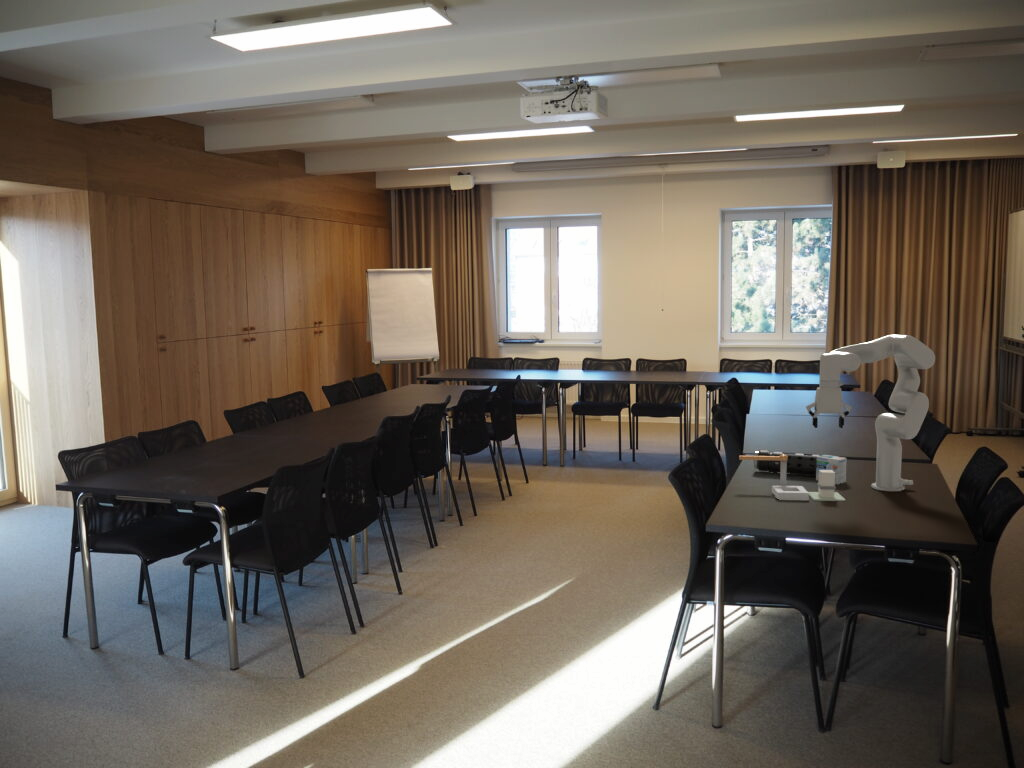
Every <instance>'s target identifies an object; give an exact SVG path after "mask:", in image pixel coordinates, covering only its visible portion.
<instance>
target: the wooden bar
mask: <svg viewBox="0 0 1024 768" xmlns="http://www.w3.org/2000/svg"><path fill="white" fill-rule="evenodd" d="M738 458H739V459H738V460H739V461H741V460H742V461H754V460H777V461H788V455H780V456H754V455H739V456H738Z"/></svg>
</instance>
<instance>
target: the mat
mask: <svg viewBox="0 0 1024 768" xmlns="http://www.w3.org/2000/svg"><path fill="white" fill-rule="evenodd" d="M807 492H808V493H809V498H811V499H812V500H813V501H816V502H818V501H820V502H821V501H822V502H828V501H830V502H846V498H844V496H842V495H841V494H840V493H839V492H837V491H834V497H821V496H820V495H819V494H818V491H807Z"/></svg>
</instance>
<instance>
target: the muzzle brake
mask: <svg viewBox="0 0 1024 768" xmlns="http://www.w3.org/2000/svg"><path fill="white" fill-rule="evenodd" d="M780 455H788V461H787V471H786V474H789V475H796V476H803V475H804V476H803V477H805V476H806V477H815V476H816V466H817V456H821V454H817V453H813V454H811V453H798V452H786V451H785V452H784V451H773V452H772V451H770V450H768V449H767V450H766V449H760V450H756V451H754V453H753V456H780ZM753 468H754V469H755V470H758V471H760V472H768V473H769V472H773V473H772V474H775V473H777V474H778V473H780V470H781V461H777V460H753Z"/></svg>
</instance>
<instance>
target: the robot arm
mask: <svg viewBox="0 0 1024 768" xmlns="http://www.w3.org/2000/svg"><path fill="white" fill-rule="evenodd" d="M890 357H894V358H893V360H894V363H895V365H896V367H897V372H898V378H897V381H896V383H895V386H894V388H893V391H891V395H890V397H889V400H888V407H889V409H890V410H891V411H893V412H884V413H881V414H879V415H878V416H877V417H876V419H875V423H874V424H875V425H874V429H875V433H876V467H875V482H873V483H871V488H872V489H875V490H877V491H882V492H883V491H884V492H903V491H904V490H905V489H906V488H905V486H906V485H908V486H912V485H914V480H913V479H904V478H902V458H903V456H902V454H903V445H902V441H901V439H902V440H912V439H914V438H915V437H916V436H917V435H918V433H919V431H920V430H921V427H922V426H923V422H924V420H925V418H926V415H927V413H928V411H929V407H930V401H929V398H928V396H927V395H926V393H923V392H920V391H918V390H919V387H920V384H921V377H920V374H919V372H918V369H919V370H927V369H930V368H932V367H933V366H934V364H935V362H936V355H935V353H934V351H933V350H932V349H931V348H929V346H928V345H926V344H924V343H923V342H922V341H921V340H919V339H918V338H915V337H914V336H912V335H909V334H895V333H894V334H888V335H887V334H886V335H885V336H882V337H878V338H876V339H873V340H871V341H867V342H862V343H861V342H860V343H858V344H851V345H846V346H843V347H840V348H836V349H834V350H833V349H832V350H831V351H830V352H827V353H822V354H820V357H819V381H818V383H819V384H818V385H819V387H816V391H815V397H814V402H812V403H811V404H808V405H806V406H805V409H806V410H807V411H806V412H807V413H808V414H809V415H810V416H811V417H812V426H813V428H815V429H817V428H818V426H819V425H818V423H819V422H818V420H819V419H818V416H819V415H820V414H838V415H839V417H838V427H839V428H840V429H843V427H844V426H845V419H846V417H847V416H848V415H849V414H850V412H851V411H852V409H853V407H852V406H851V405H849V404H847V403H844V401H843V400H844V398H843V393H842V388H841V386H844V381H841V372H855V371H857V369H859V368H860V366H861V364H870V363H876V362H878V361H882V360H884V359H887V358H890ZM844 408H846V410H845V411H844V410H843V409H844ZM812 409H814V412H813V411H812ZM843 411H844V412H843ZM894 412H896V413H894ZM899 413H901V414H899ZM902 490H903V491H902Z"/></svg>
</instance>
